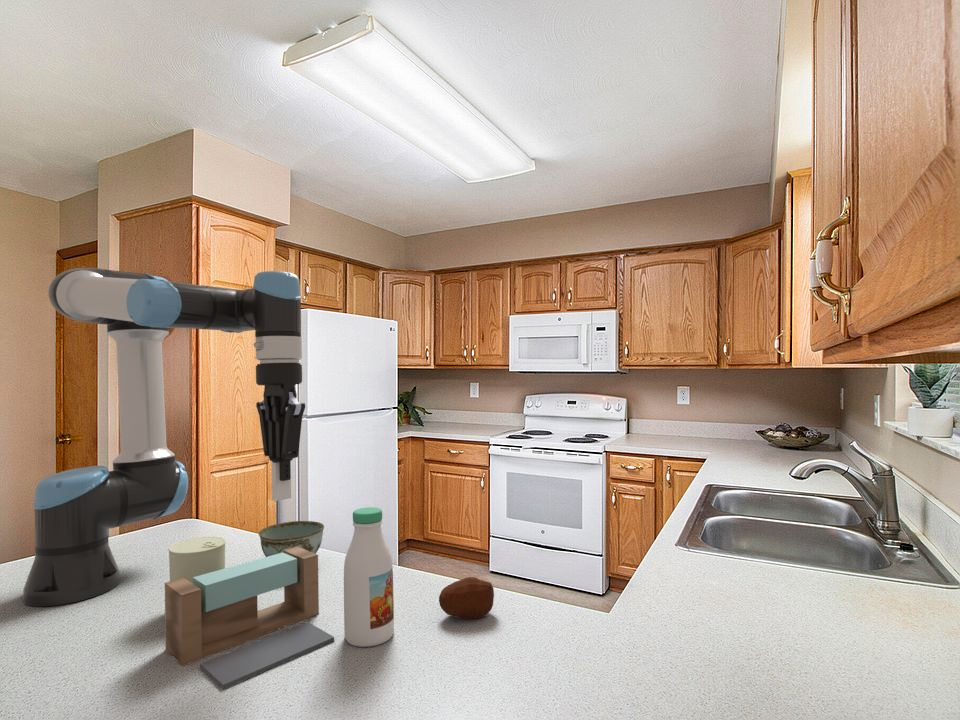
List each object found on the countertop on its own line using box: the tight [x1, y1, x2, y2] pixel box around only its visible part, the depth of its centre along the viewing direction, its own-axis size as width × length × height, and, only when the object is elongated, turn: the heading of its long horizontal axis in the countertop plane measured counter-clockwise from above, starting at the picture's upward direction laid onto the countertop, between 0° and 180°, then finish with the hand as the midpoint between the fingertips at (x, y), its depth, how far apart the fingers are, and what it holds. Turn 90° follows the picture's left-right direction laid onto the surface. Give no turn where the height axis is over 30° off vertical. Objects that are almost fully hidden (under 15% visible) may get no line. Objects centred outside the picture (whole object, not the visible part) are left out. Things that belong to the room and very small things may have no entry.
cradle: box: [164, 546, 320, 667], centre depth 90 cm, size 7×22×10 cm, turn 137°
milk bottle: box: [343, 506, 395, 648], centre depth 87 cm, size 8×8×20 cm
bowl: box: [258, 520, 325, 557], centre depth 119 cm, size 14×13×8 cm
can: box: [168, 536, 226, 584], centre depth 98 cm, size 9×9×12 cm
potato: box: [438, 576, 495, 620], centre depth 93 cm, size 7×9×6 cm
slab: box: [193, 553, 297, 612], centre depth 90 cm, size 5×15×4 cm, turn 137°
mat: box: [199, 621, 335, 690], centre depth 82 cm, size 8×17×1 cm, turn 137°
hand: (281, 498), depth 94 cm, fingers closed
